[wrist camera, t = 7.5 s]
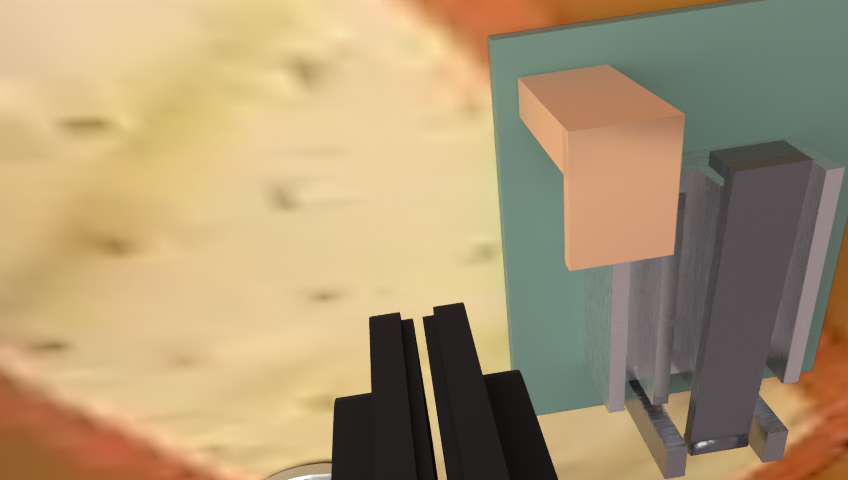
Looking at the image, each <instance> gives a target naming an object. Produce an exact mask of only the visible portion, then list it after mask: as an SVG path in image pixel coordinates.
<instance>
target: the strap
mask: <svg viewBox="0 0 848 480" xmlns="http://www.w3.org/2000/svg"><path fill="white" fill-rule="evenodd" d="M813 161H814V160H813V159H812V158H810V157H809V156H807V155H806V154H804V153H803V152H801V151H800V150H798V149H797V148H795V147H794V146H792V145H791V144H789V143H788V142H786V141H785V140H780V141H773V142H767V143H760V144H753V145H747V146H740V147H734V148H727V149H721V150H714V151H710V154H709V161H708V165H709V166H710V167H711V168H712V169H713V170H714V171H716V172H717V173H718V174H719V175H720V176H721V177H723V178H724V185H723V192H722V198H721V205H720V211H719V218H718V224H717V231H716V237H715V243H714V250H713V256H712V263H711V269H710V276H709V282H708V288H707V295H706V301H705V308H704V314H703V321H702V327H701V333H700V340H699V346H698V353H697V359H696V366H695V372H694V378H693V385H692V391H691V398H690V404H689V411H688V417H687V423H686V430H685V434H684V442H685V444H686V445H687V447H688V450H687V452H688V453H689V454H690V455H691V456H693V455H699V454H705V453H711V452H717V451H723V450H729V449H735V448H741V447H747V446H748V444H749V439H748V436H749V432H750V428H751V424H752V419H753V415H754V411H755V407H756V402H757V398H758V394H759V390H760V385H761V381H762V377H763V373H764V369H765V364H766V360H767V356H768V352H769V347H770V343H771V339H772V335H773V330H774V326H775V322H776V318H777V313H778V309H779V305H780V301H781V296H782V292H783V288H784V284H785V280H786V275H787V271H788V267H789V263H790V258H791V254H792V250H793V246H794V241H795V237H796V233H797V229H798V224H799V220H800V216H801V212H802V208H803V203H804V199H805V195H806V191H807V186H808V182H809V178H810V174H811V169H812V165H813Z"/></svg>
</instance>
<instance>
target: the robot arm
mask: <svg viewBox="0 0 848 480" xmlns="http://www.w3.org/2000/svg"><path fill="white" fill-rule="evenodd" d="M433 311H434V315H432V316H425V317H423V323H424V330H425V337H426V343H427V350H428V357H429V363H430V370H431V376H432V383H433V390H434V396H435V403H436V410H437V416H438V423H439V429H440V436H441V442H442V449H443V455H444V462H445V468H446V474H447V480H558V478H557V475H556V472H555V469H554V466H553V463H552V460H551V457H550V454H549V452H548V449H547V446H546V443H545V440H544V437H543V434H542V431H541V428H540V425H539V422H538V420H537V417H536V414H535V411H534V408H533V405H532V402H531V399H530V396H529V393H528V390H527V388H526V385H525V382H524V379H523V376H522V374H521V372H520V370H519V369H518V370H511V371H505V372H499V373H492V374H486V375H482V371H481V367H480V363H479V360H478V356H477V352H476V348H475V344H474V341H473V337H472V333H471V329H470V325H469V321H468V318H467V314H466V310H465V306H464V303H463V302H462V303H456V304H449V305H443V306H436V307H433ZM369 329H370V359H371V390H372V393H366V394H360V395H354V396H347V397H341V398H336V400H335V404H334V421H333V445H332V463H321V464H313V465H305V466H300V467H297V468H293V469H289V470H286V471H283V472H280V473H278V474H276V475H274V476H271V477H269V478H267V479H265V480H438V477H437V470H436V463H435V455H434V448H433V441H432V435H431V428H430V422H429V416H428V409H427V403H426V397H425V391H424V385H423V378H422V372H421V366H420V360H419V353H418V347H417V341H416V335H415V329H414V322H413V319H406V320H401V316H400V312H398V313H391V314H385V315H378V316H372V317H370V318H369Z"/></svg>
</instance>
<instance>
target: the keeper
mask: <svg viewBox="0 0 848 480" xmlns="http://www.w3.org/2000/svg"><path fill="white" fill-rule="evenodd" d="M518 95H519V115H520V118H521V120H522V121H523V122H524V123H525V125H526V126H527V127H528V129H529V130H530V131H531V133H532V134H533V135H534V136H535V138H536V139H537V140H538V142H539V143H540V144H541V146H542V147H543V148H544V150H545V151H546V152H547V153H548V155H549V156H550V157H551V159H552V160H553V161H554V163H555V164H556V165H557V167H558V168H559V169H560V170H561V172H562V173H563V174H564V228H565V264H566V265H567V267H568V269H569V271H573V270H579V269H586V268H592V267H598V266H605V265H611V264H617V263H624V262H630V261H637V260H643V259H649V258H656V257H662V256H668V255H674V244H675V232H676V220H677V208H678V196H679V183H680V171H681V159H682V147H683V134H684V122H685V114H684V113H682V112H681V111H679V110H678V109H676V108H675V107H673V106H672V105H670V104H668V103H667V102H665V101H664V100H662V99H661V98H659V97H658V96H656V95H655V94H653V93H651V92H650V91H648V90H647V89H645V88H644V87H642V86H641V85H639V84H637V83H636V82H634V81H633V80H631V79H630V78H628V77H627V76H625V75H624V74H622V73H620V72H619V71H617V70H616V69H614V68H613V67H611V66H610V65H608V64H604V65H598V66H591V67H584V68H577V69H571V70H564V71H557V72H551V73H544V74H537V75H530V76H524V77H518Z"/></svg>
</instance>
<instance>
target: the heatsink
mask: <svg viewBox="0 0 848 480" xmlns="http://www.w3.org/2000/svg"><path fill="white" fill-rule="evenodd" d="M780 140H785V141H786V142H788V143H789V144H791V145H792V146H794V147H795V148H797V149H798V150H800V151H801V152H803V153H804V154H806V155H807V156H809V157H810V158H812V159H813V160H814V161H813V165H812V169H811V174H810V178H809V182H808V186H807V191H806V195H805V199H804V203H803V208H802V212H801V216H800V220H799V224H798V229H797V233H796V237H795V241H794V246H793V250H792V254H791V258H790V263H789V267H788V271H787V275H786V280H785V284H784V288H783V292H782V296H781V301H780V305H779V309H778V313H777V318H776V322H775V326H774V330H773V335H772V339H771V343H770V347H769V352H768V356H767V360H766V365H767V366H768V367H769V369H770V370H771V371H772V372H773V373H774V374H775V375H776V376H777V378H778V379H779V380H780V381H781V382H782V383H783V384H787V383H793V382H798V381H799V376H800V371H801V367H802V362H803V358H804V353H805V348H806V344H807V339H808V335H809V330H810V326H811V321H812V316H813V312H814V307H815V303H816V298H817V293H818V289H819V284H820V280H821V275H822V271H823V266H824V261H825V257H826V252H827V248H828V243H829V239H830V234H831V229H832V225H833V220H834V216H835V211H836V206H837V202H838V197H839V193H840V188H841V184H842V179H843V174H844V170H845V167H844V166H842V165H840V164H838V163H836V162H834V161H833V160H831V159H829V158H827V157H825V156H823V155H821V154H820V153H818V152H816V151H814V150H812V149H810V148H809V147H807V146H805V145H803V144H801V143H799V142H798V141H796V140H794V139H792V138H790V137H788V136H787V137H781V138H774V139H768V140H761V141H755V142H748V143H742V144H735V145H729V146H722V147H716V148H709V149H703V150H696V151H689V152H683V153H682V159H681V171H680V183H679V196H678V208H677V220H676V232H675V244H674V255H668V256H662V257H656V258H649V259H643V260H637V261H630V262H624V263H617V264H611V265H605V266H598V267H592V268H586V269H584V364H585V366H586V368H587V370H588V372H589V374H590V376H591V378H592V380H593V382H594V384H595V386H596V388H597V390H598V392H599V394H600V396H601V398H602V400H603V402H604V404H605V406H606V408H607V410H608V412H609V413H610V412H616V411H622V410H624V404H625V406H626V407H627V409H628V411H629V413H630V415H631V417H632V419H633V420H634V422H635V424H636V426H637V428H638V430H639V432H640V434H641V435H642V437H643V439H644V441H645V443H646V445H647V447H648V448H649V450H650V452H651V454H652V456H653V458H654V460H655V461H656V463H657V465H658V467H659V469H660V471H661V473H662V474H663V476H664V478H665V479H668V478H674V477H680V476H685V467H686V458H687V450H688V447H687V445H686V444H685V442H684V440H683V439H682V437H681V435H680V434H679V432H678V430H677V429H676V427H675V425H674V424H673V422H672V421H671V419H670V417H669V416H668V414H667V412H666V411H665V409H664V407H663V406H662V404H665V403H668V396H669V384H670V374H674V373H679V374H680V375H681V377H682V378H683V380H684V381H685V383H686V384H687V385H688V387H689V388H690V390H691V391H692V385H693V378H694V372H695V366H696V359H697V353H698V346H699V340H700V333H701V327H702V321H703V314H704V308H705V301H706V295H707V288H708V282H709V276H710V269H711V263H712V256H713V250H714V243H715V237H716V231H717V224H718V218H719V211H720V205H721V198H722V192H723V185H724V178H723V177H721V176H720V175H719V174H718V173H717V172H716V171H714V170H713V169H712V168H711V167H710V166H709V165H708V161H709V154H710V151H714V150H721V149H727V148H734V147H740V146H747V145H753V144H760V143H767V142H773V141H780ZM787 435H788V429H787V428H786V427H785V426H784V425H783V423H782V422H781V421H780V420H779V418H778V417H777V416H776V415H775V414H774V412H773V411H772V410H771V409H770V407H769V406H768V405H767V404H766V403H765V401H764V400H763V399H762V398H761V396H760V395H759V394H758V398H757V402H756V407H755V411H754V415H753V419H752V424H751V428H750V432H749V436H748V439H749V445H750V446H751V447H752V449H753V450H754V451H755V453H756V454H757V456H758V457H759V458H760V460H761V461H762V462H769V461H775V460H781V459H782V457H783V453H784V448H785V444H786V439H787Z"/></svg>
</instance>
